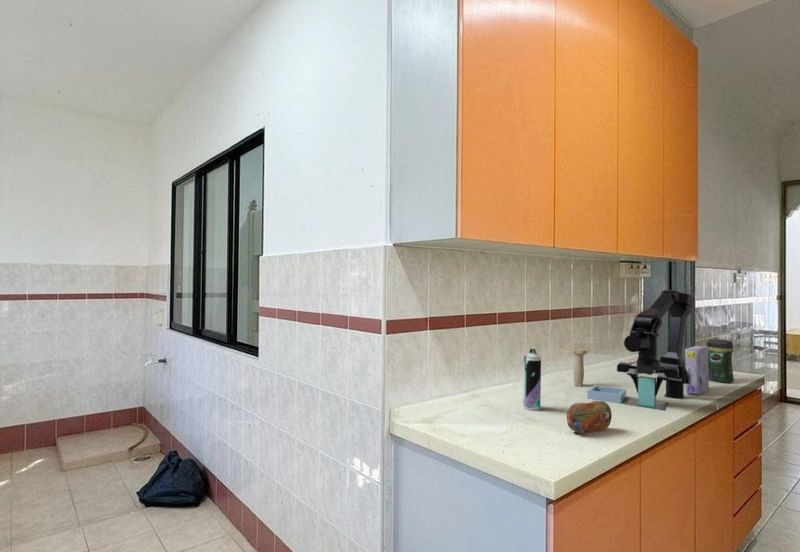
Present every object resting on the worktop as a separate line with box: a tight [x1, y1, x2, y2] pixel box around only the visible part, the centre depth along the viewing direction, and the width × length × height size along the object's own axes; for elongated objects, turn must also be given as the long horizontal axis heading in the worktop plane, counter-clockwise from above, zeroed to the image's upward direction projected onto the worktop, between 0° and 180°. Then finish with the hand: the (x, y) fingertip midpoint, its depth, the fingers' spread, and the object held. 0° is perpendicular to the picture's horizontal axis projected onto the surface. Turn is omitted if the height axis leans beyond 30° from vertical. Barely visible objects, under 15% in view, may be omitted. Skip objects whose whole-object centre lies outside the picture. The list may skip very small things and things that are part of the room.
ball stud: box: [625, 397, 669, 412], centre depth 159 cm, size 12×12×6 cm
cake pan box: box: [684, 345, 710, 396], centre depth 183 cm, size 19×5×18 cm, turn 135°
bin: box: [587, 384, 627, 404], centre depth 166 cm, size 11×11×4 cm
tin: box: [566, 400, 613, 435], centre depth 130 cm, size 15×3×8 cm, turn 114°
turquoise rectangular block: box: [637, 375, 657, 406], centre depth 159 cm, size 5×5×9 cm
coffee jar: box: [706, 338, 734, 384], centre depth 203 cm, size 10×8×19 cm
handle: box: [570, 347, 588, 387], centre depth 189 cm, size 5×6×15 cm
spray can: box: [523, 348, 542, 411], centre depth 153 cm, size 6×6×20 cm
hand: (647, 394), depth 159 cm, fingers closed on turquoise rectangular block, 5 cm apart
